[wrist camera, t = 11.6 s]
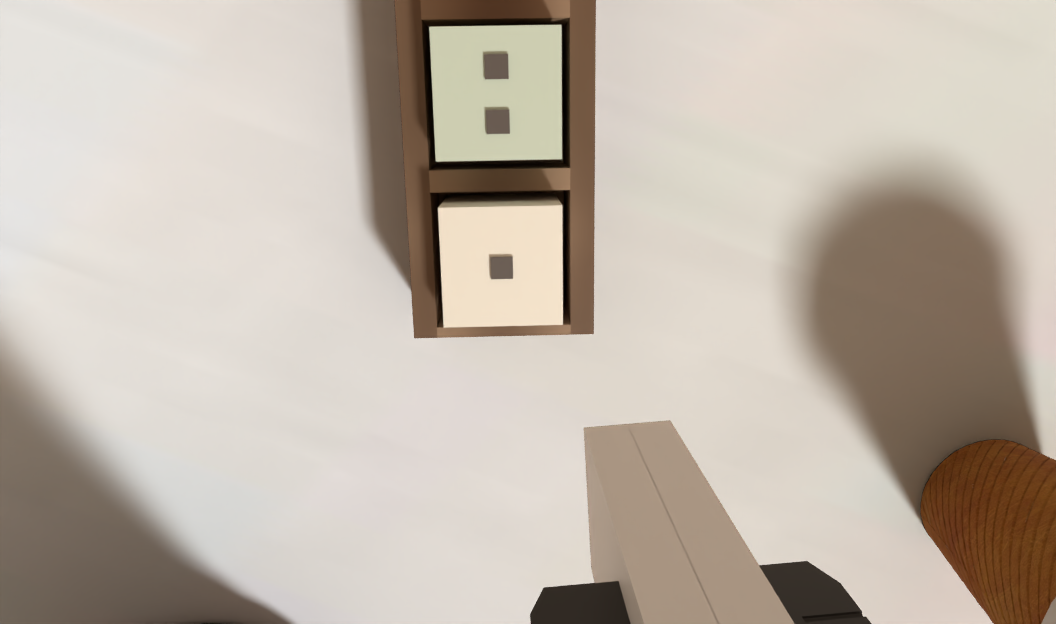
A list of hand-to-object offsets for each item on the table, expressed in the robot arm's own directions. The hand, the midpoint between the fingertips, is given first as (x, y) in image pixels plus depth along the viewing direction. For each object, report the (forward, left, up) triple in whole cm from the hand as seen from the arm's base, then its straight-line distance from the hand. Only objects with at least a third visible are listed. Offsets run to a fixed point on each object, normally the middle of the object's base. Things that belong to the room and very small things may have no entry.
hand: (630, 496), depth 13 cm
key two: (-2, +7, -19) cm, 21 cm away
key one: (-2, +1, -19) cm, 19 cm away
